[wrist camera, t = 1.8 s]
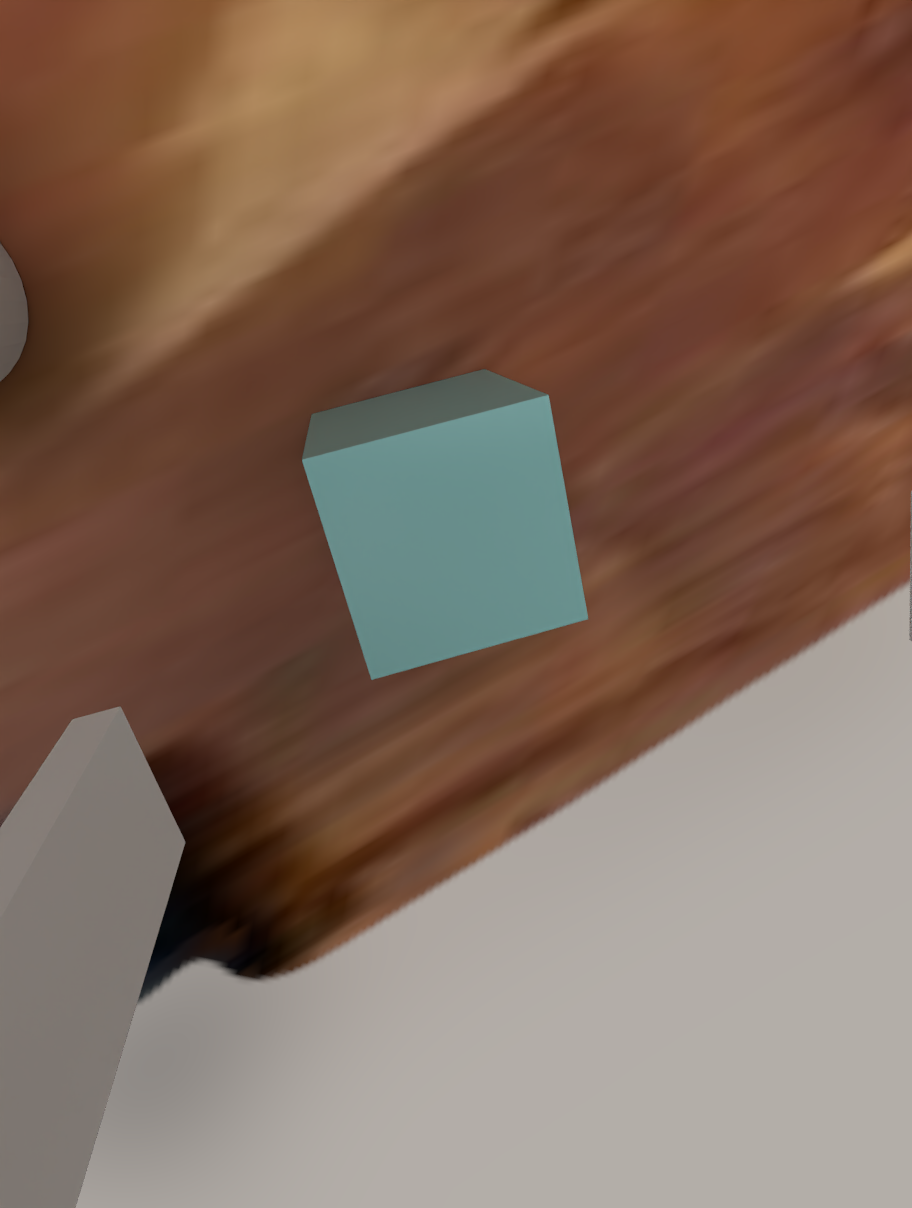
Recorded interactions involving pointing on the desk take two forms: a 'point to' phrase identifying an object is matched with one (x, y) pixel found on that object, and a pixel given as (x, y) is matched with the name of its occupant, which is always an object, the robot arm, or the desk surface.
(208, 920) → the desk surface
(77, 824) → the robot arm
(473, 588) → the teal rectangular block
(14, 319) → the coffee cup
